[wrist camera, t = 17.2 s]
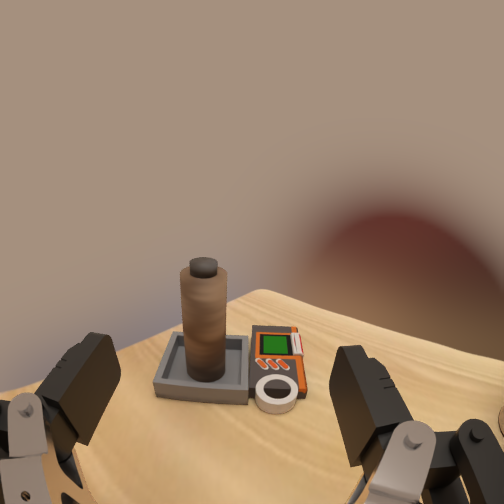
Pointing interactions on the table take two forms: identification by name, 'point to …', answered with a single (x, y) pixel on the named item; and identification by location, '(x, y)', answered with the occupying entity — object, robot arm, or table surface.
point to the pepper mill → (204, 318)
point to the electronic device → (276, 368)
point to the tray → (221, 391)
